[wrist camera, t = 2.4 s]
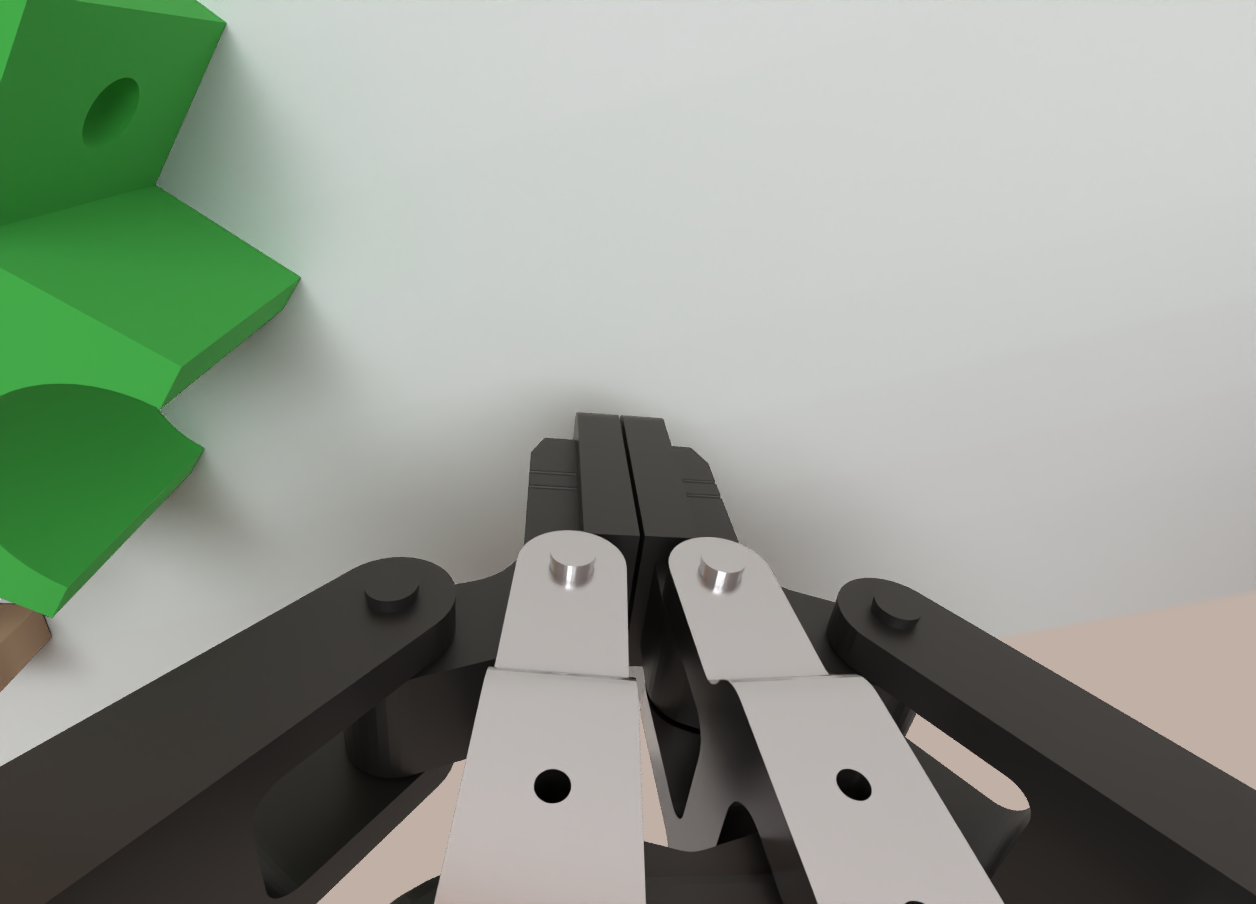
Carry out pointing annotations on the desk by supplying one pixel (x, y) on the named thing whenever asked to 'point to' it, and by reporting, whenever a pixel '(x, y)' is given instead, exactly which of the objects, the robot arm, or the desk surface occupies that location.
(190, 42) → the pipe clamp
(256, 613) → the desk surface
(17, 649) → the channel stop
